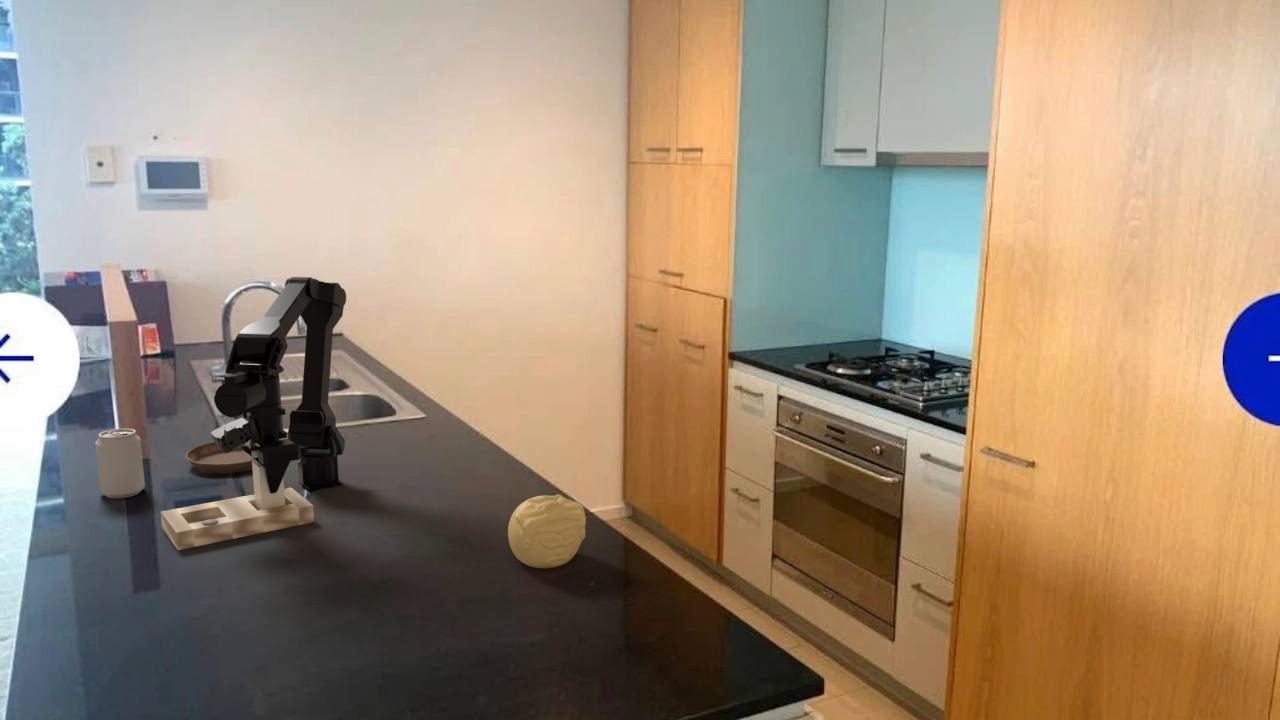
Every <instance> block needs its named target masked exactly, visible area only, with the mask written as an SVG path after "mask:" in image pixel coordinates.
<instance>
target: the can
mask: <svg viewBox="0 0 1280 720" xmlns="http://www.w3.org/2000/svg"><path fill="white" fill-rule="evenodd" d="M136 433H137V431H136V429H134V428H114V429H108V430H105V431H101V432H100V433H99V434H98V439H97V440H96V441H95V443H94V445H95V446H94V447H95V454H96V463H97V474H98V482H99V483H98V484H99V491H100V493H101V494H102V495H104V496H105V497H106V498H108V499H123V498H125V499H126V498H130V497H134V496H136V495H138V494H140V493H141V492H142V491H143V489H145V487H146V483H145V482H146V481H145V471H144V462H143V453H142V441H141V437H140V436H139V435H137V434H136Z"/></svg>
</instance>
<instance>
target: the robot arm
mask: <svg viewBox="0 0 1280 720" xmlns="http://www.w3.org/2000/svg"><path fill="white" fill-rule="evenodd" d="M346 302H347V292H346V291H345V289H344V288H343V287H342V286H341V284H340V283H338V282H325V281H322V280H318V279H317V278H313V277H312V276H311V277H308V276H291V277H290V278H287V279H286V281H285V282H284V288H283V289H282V290H281V292H280V293H279V294H278V295H277V298H275V300H274V301H273V303H272V304H271V305H270V307H269V308H268V309H267V310H266V312H265V313H264V315H263V316H262V317H261V318H260V319H259V320H257V321H254V322H251V323H249V324H247V325H246V326H244V327H243V328H242V330H240V331H239V332H238V334H237V335H236V337H235V339H234V341H233V344H232V346H231V347H232V348H231V350H230V354H229V358H228V361H227V364H226V368H225V374H226V375H225V376H223V377H224V378H223V380H224V383H223V384H221V385H220V386H219V387H218V388H217V389H216V391H215V394H214V395H213V401H214V405H215V407H216V409H217V410H218V412H219V413H221V414H222V415H223V416H226V417H228V418H237V417H238V419H235V420H232V421H230V422H228V423H226V424H223V425H222V426H220V427H217V428H215V429H214V430H212V431H211V432H210V435H211V437H212V439H213V440H214V441H213V442H215V443H216V445H217V447H218V449H219V450H221V451H222V452H223V453H229V452H231V451H233V449H234V448H236V447H238V446H240V445H242V444H244V443H246V446H242V447H241V449H242V450H244V451H245V452H246V453H247V454H249V455H250V456H252V455H251V451H252V450H257V456H258V457H257V458H254V460H256V461H257V462H258V463H259V464H261V465H262V466H263V468H264V472H265V476H266V480H267V484H268V488H269V491H270V493H271V494H272V493H276V492H277V491H278V488H279V486H280V483H281V481H282V479H284V477H285V474H286V473H287V472H286V471H287V470H288V467H289V465H290V464H291V462H293V461H298V460H300V461H298V462H297V469H298V483H300V484H301V485H302V486H304V487H305V488H306V489H307V490H308V491H314V490H318V489H324V488H327V487H328V488H329V487H335V486H340V485H342V484H343V481H341V480H340V477H339V461H338V458H339V457H338V456H342V455H343V454H344V450H345V448H346V447H345V443H346V439H345V438H344V437H343V435H342V434H341V432H340V431H339V430H338V428H337V425H336V424H337V421H336V420H337V418H336V416H335V414H334V412H333V409H332V408H331V406H330V405H329V394H330V379H331V367H332V366H331V364H332V363H331V362H332V348H333V337H334V336H333V334H334V333H333V332H334V328H335V327H336V326H337V324H338V323H339V321H340V320H341V319H342V317H343V316H344V315H343V314H344V307H345V305H346ZM300 317H301V319H302V320H303V323H304V325H305V326H306V330H305V331H306V332H305V333H306V334H305V344H304V345H305V346H304V347H305V348H304V363H303V375H302V376H303V377H302V393H301V402H300V403H299V405H298V406H297V408H295V410H291V412H290V414H289V426H288V430H287V431H286V430H285V429H284V427H283V416H286V408H284V407H283V406H282V398H281V397H282V396H281V382H280V374H281V373H283V372H284V370H285V368H284V367H283V365H281V363H282V360H283V358H284V356H285V354H286V352H287V349H288V342H287V337H288V334H289V332H290V331H291V329H293V326H294V324H296V322H297V321H298V319H299V318H300ZM241 363H242V364H241ZM239 416H241V417H240V418H239ZM286 438H287V439H286ZM281 439H282V440H281Z"/></svg>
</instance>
